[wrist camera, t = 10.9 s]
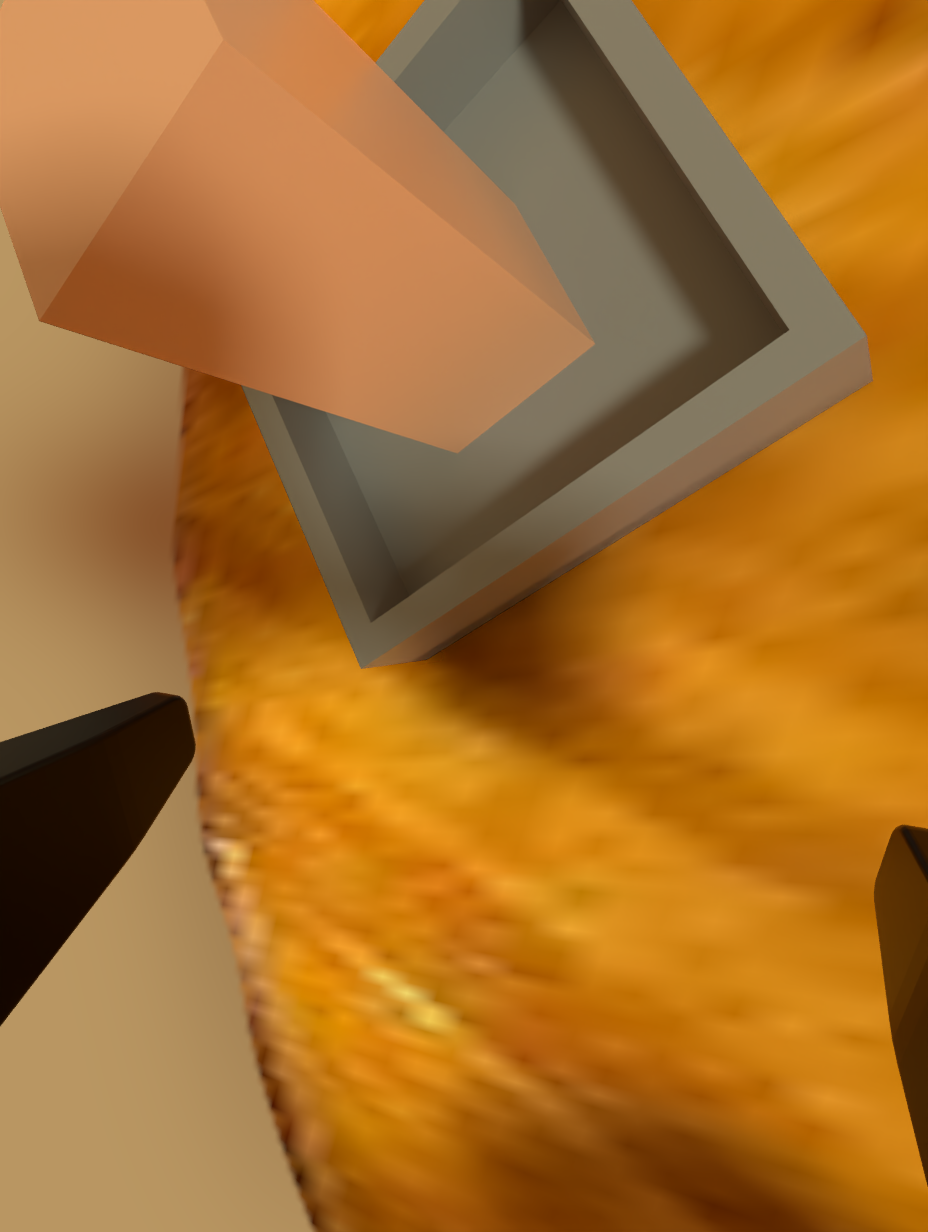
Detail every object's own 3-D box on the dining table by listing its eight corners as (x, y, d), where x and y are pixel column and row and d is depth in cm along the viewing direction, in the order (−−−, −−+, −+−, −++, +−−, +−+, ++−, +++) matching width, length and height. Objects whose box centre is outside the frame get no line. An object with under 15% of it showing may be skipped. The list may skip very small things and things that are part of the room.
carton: (595, 343, 17) (223, 40, 8) (457, 453, 19) (39, 321, 10) (515, 204, 18) (103, -212, 9) (393, 323, 20) (-39, 93, 11)
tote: (872, 380, 15) (867, 335, 12) (426, 659, 21) (361, 668, 18) (586, -34, 18) (534, -139, 15) (273, 319, 24) (199, 287, 21)
